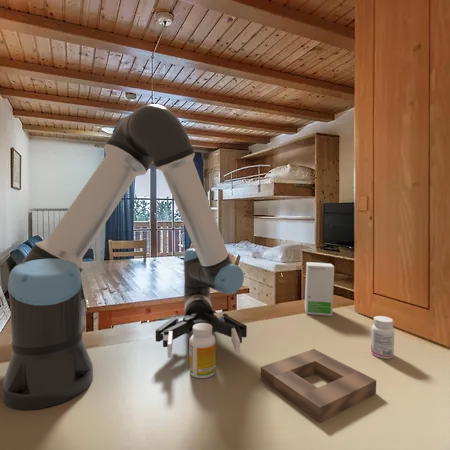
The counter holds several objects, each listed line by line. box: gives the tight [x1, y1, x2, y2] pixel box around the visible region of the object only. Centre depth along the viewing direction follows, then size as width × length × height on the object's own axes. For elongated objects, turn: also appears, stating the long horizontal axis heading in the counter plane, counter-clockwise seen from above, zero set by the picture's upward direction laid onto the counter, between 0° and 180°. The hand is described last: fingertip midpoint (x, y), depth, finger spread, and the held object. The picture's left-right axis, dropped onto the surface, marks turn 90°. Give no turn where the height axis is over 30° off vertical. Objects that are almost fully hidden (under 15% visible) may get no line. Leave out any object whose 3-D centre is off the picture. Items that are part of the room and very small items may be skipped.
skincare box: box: [304, 261, 335, 317], centre depth 103 cm, size 8×7×16 cm
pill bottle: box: [370, 315, 395, 360], centre depth 75 cm, size 5×5×8 cm
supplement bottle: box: [188, 323, 217, 379], centre depth 67 cm, size 5×5×10 cm
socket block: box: [260, 348, 377, 423], centre depth 62 cm, size 15×15×2 cm
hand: (204, 349), depth 64 cm, fingers open, 13 cm apart
